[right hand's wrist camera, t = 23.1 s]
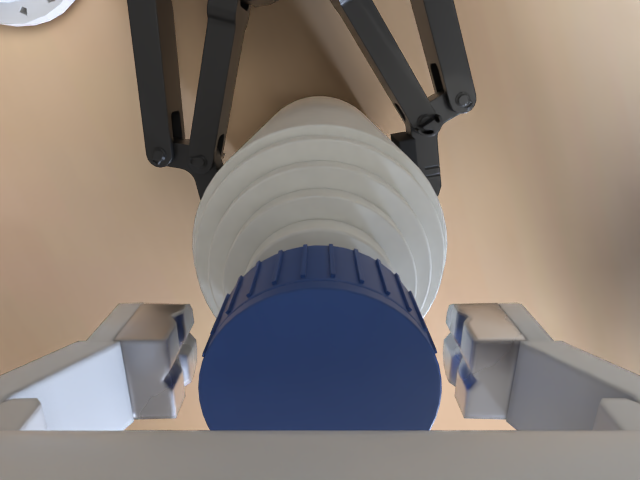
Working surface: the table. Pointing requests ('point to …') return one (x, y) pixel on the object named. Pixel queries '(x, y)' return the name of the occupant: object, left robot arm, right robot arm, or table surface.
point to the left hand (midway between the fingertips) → (334, 269)
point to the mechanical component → (31, 11)
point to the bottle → (319, 201)
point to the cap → (319, 348)
